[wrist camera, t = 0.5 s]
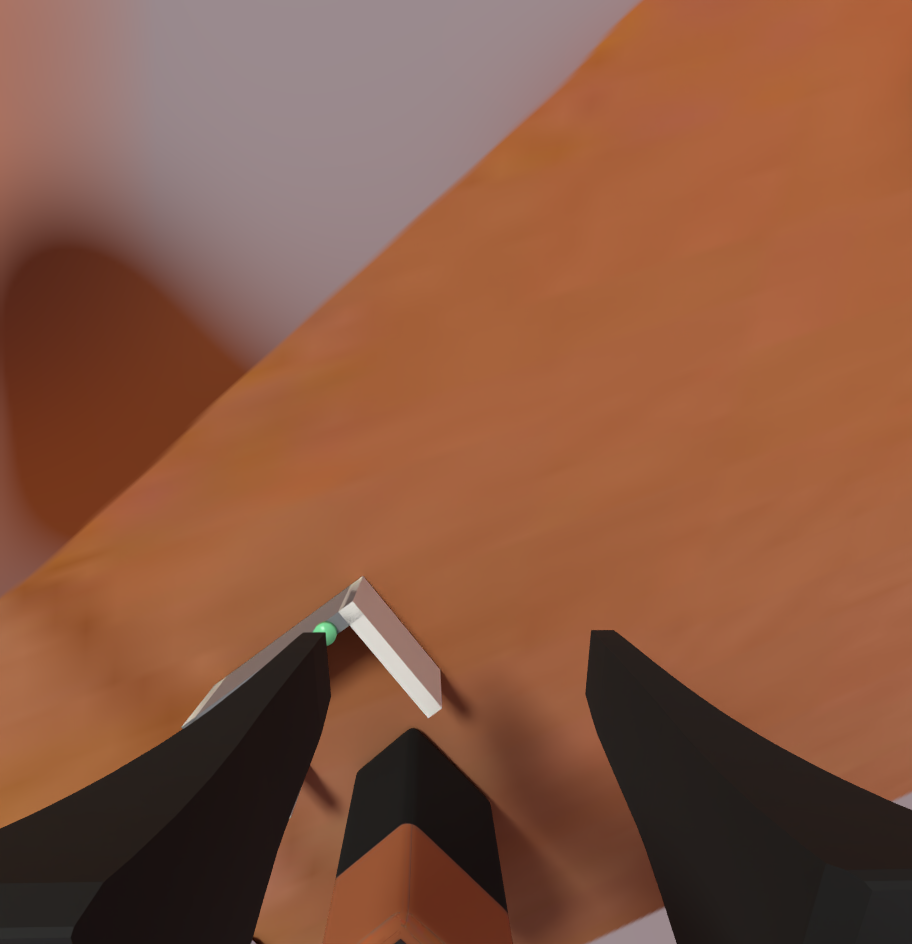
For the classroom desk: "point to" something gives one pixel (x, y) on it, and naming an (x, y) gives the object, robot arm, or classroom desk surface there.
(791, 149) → the classroom desk surface
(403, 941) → the battery
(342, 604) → the charging bay
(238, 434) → the classroom desk surface
